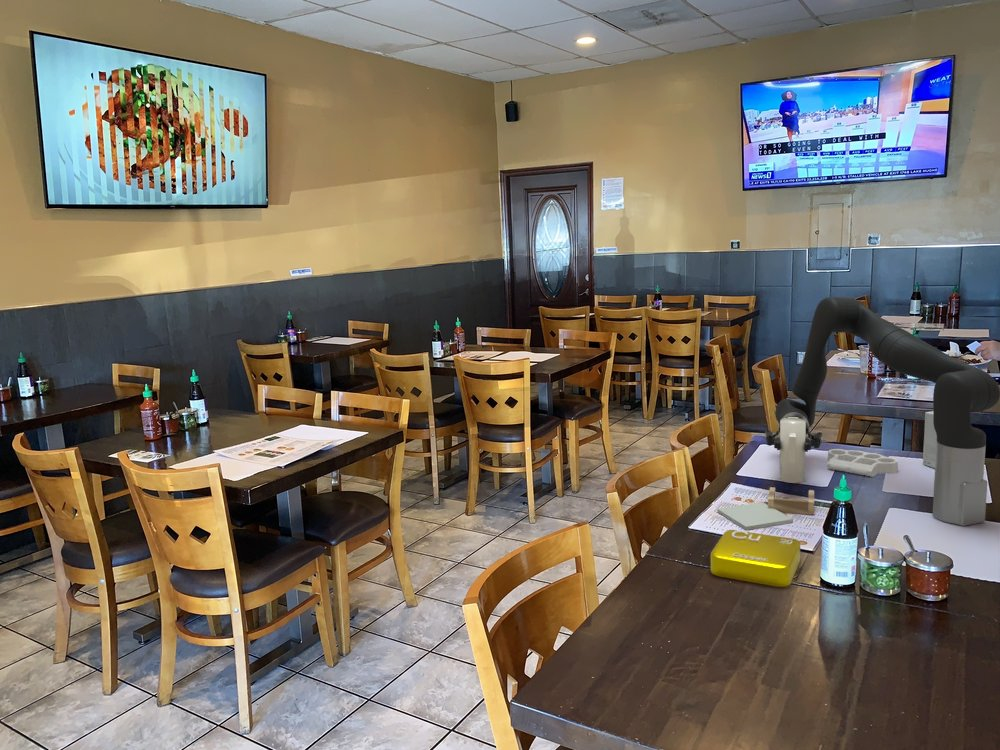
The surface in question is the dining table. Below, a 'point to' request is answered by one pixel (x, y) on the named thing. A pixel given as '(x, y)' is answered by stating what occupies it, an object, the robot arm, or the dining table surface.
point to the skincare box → (929, 441)
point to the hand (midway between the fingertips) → (792, 447)
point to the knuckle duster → (861, 462)
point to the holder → (791, 503)
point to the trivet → (754, 515)
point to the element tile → (756, 558)
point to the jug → (792, 449)
